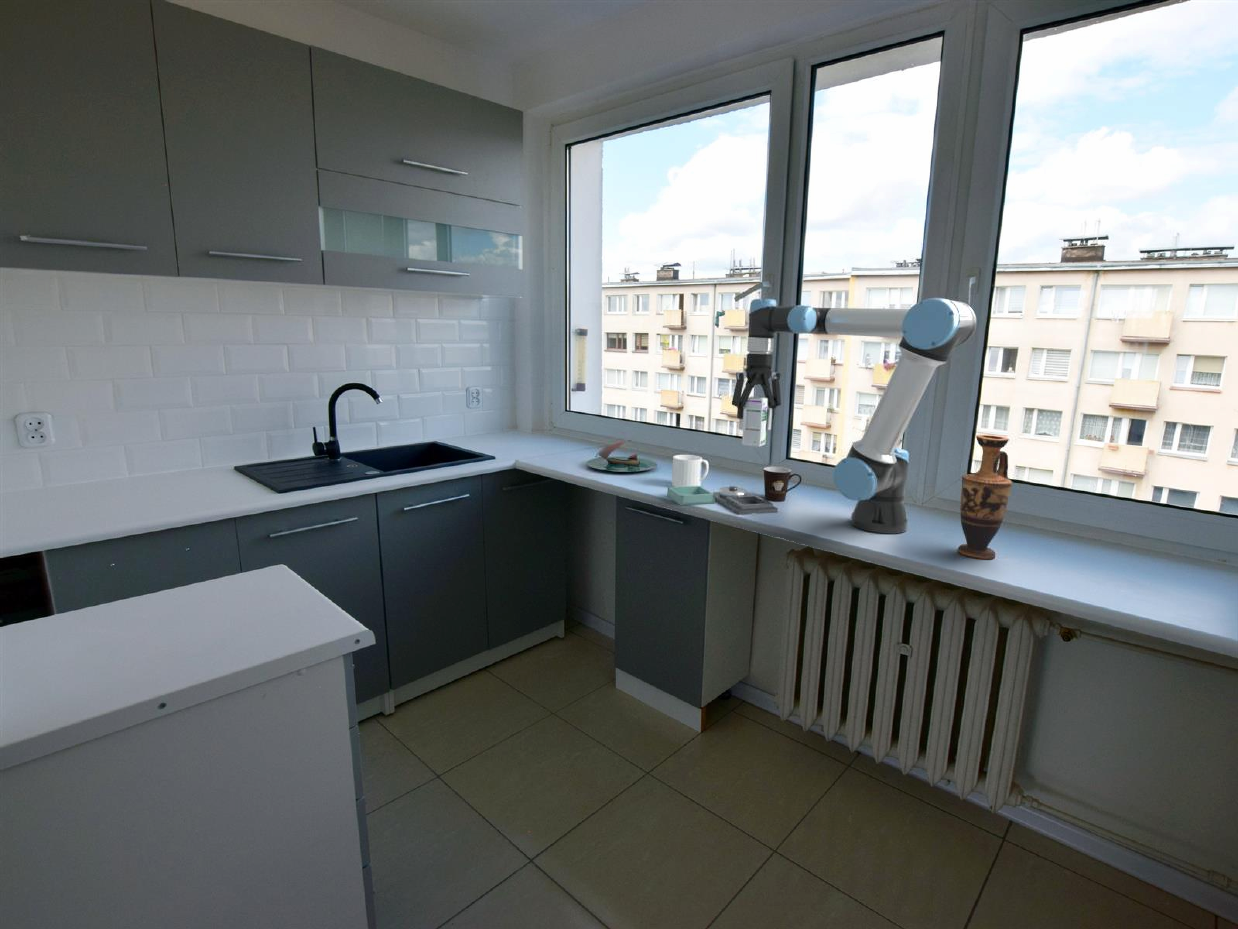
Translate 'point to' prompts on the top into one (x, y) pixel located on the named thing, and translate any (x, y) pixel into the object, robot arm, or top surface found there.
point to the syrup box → (755, 421)
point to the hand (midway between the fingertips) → (754, 429)
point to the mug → (687, 470)
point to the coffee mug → (777, 483)
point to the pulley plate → (743, 501)
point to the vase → (985, 498)
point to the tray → (691, 495)
